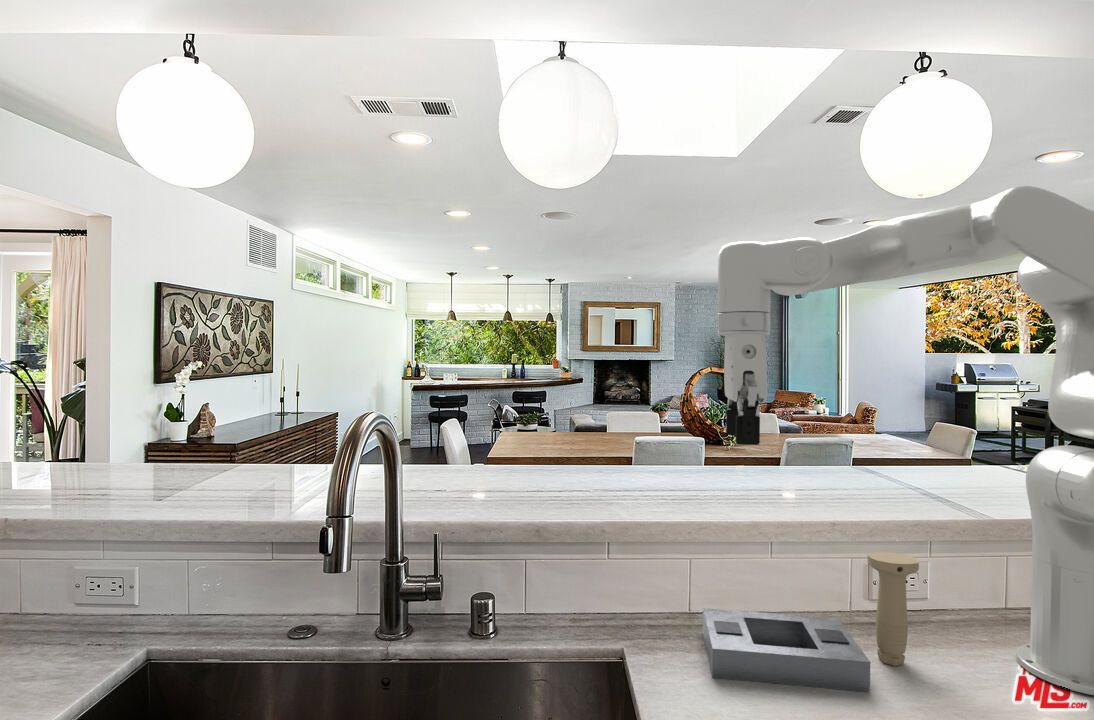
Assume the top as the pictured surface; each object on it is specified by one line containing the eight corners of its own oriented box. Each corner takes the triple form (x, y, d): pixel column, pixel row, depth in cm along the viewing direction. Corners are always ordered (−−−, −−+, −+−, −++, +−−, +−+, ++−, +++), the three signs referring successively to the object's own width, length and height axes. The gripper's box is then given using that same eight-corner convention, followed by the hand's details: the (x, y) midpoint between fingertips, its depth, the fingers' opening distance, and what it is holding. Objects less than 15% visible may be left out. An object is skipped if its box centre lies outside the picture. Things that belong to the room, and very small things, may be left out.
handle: (922, 672, 83) (925, 565, 83) (873, 668, 84) (875, 562, 84) (907, 655, 88) (909, 553, 88) (860, 651, 89) (862, 551, 89)
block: (837, 644, 91) (838, 616, 91) (869, 692, 78) (870, 660, 78) (702, 633, 94) (702, 606, 94) (712, 677, 81) (712, 646, 81)
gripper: (783, 323, 80) (781, 449, 81) (758, 328, 97) (756, 432, 98) (725, 322, 82) (723, 447, 82) (711, 328, 99) (709, 431, 99)
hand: (741, 439), depth 90 cm, fingers open, 9 cm apart
